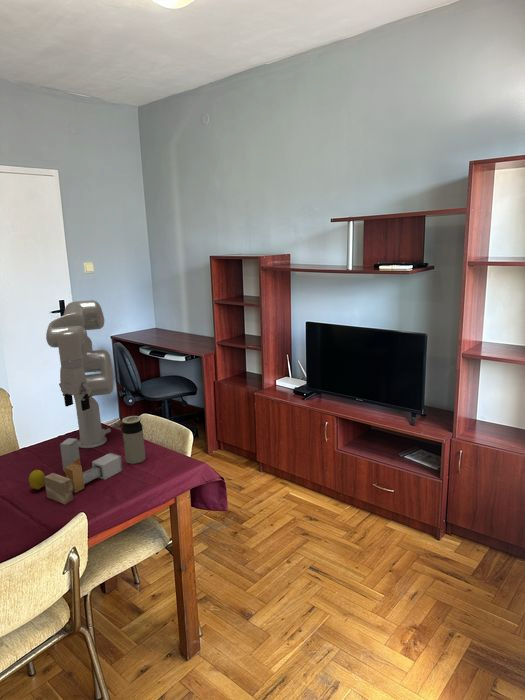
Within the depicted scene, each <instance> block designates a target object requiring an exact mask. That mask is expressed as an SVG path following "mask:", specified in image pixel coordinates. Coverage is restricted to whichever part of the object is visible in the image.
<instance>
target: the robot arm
mask: <svg viewBox="0 0 525 700" xmlns="http://www.w3.org/2000/svg"><path fill="white" fill-rule="evenodd" d="M104 316H105V315H104V313H103V309H102V306H101V305H100V303H99V302H98V301H97V300H79V301H77V300H76V301H71V302H69V303H68V304H67V305H66V306H65V308H64V312H63V315H61V316H59V317H57V318H55V319H53V320H52V321H50V322H49V324H48V326H47V329H46V332H45V339H46V343H47V345H48V346H49V347H50V348H54V349H55V348H58V355H59V362H60V370H59V378H60V380H59V382H60V383H58V385H59V388H60V391H61V393H62V396H63V399H64V406H65V407H70V406H72V405H73V404H75V409H76V417H77V418H76V419H77V424H78V425H77V426H78V432H79V439H78V448H80V449H93V448H98V447H101V446H102V445H104V444H105V443H106V442H107V439H108V438H107V436H106V435H107V434H109V433H111V432H112V430H111V428H109V427H108V428H106V429H105V428H103V427H102V421H101V420H102V419H101V413H100V405H99V403H98V401H97V400H96V399H95V398H94V397H96V396H105V395H109V394H112V392H113V391H114V382H113V381H114V380H113V379H114V378H113V368H112V359H111V355H110V353H109V351H107V350H105V349H97V350H93V342H92V339H91V338H90V337H89V336H88V332H87V331H93V330H100V329H103V327H104V326H105V317H104ZM97 372H98V373H97ZM99 372H100V373H99ZM86 373H91V374H86Z"/></svg>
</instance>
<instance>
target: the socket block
mask: <svg viewBox="0 0 525 700" xmlns="http://www.w3.org/2000/svg"><path fill="white" fill-rule="evenodd" d="M44 480H45V484H44V486H45V492H46V497H47V498H48V499H50V500H53V501H55V502H58V503H61V504H63V505H66V504H68V503H70V502H72V501H74V495H73V494H74V493H73V492H72V487H71V480H70V479H68V478H66V476H62V475H60V474H57V473H55V472H51V473H49V474H48V475H45V477H44Z"/></svg>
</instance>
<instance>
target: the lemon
mask: <svg viewBox="0 0 525 700" xmlns="http://www.w3.org/2000/svg"><path fill="white" fill-rule="evenodd" d="M45 476H46V475H45V473H44V472H43V471H42V470H40V469H34V470H32V472H30V473H29V476H28V484H29V486H30V487H31V488H32V489H34V490H40V489H41V488H43V487H44V486H45V480H44V477H45Z"/></svg>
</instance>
